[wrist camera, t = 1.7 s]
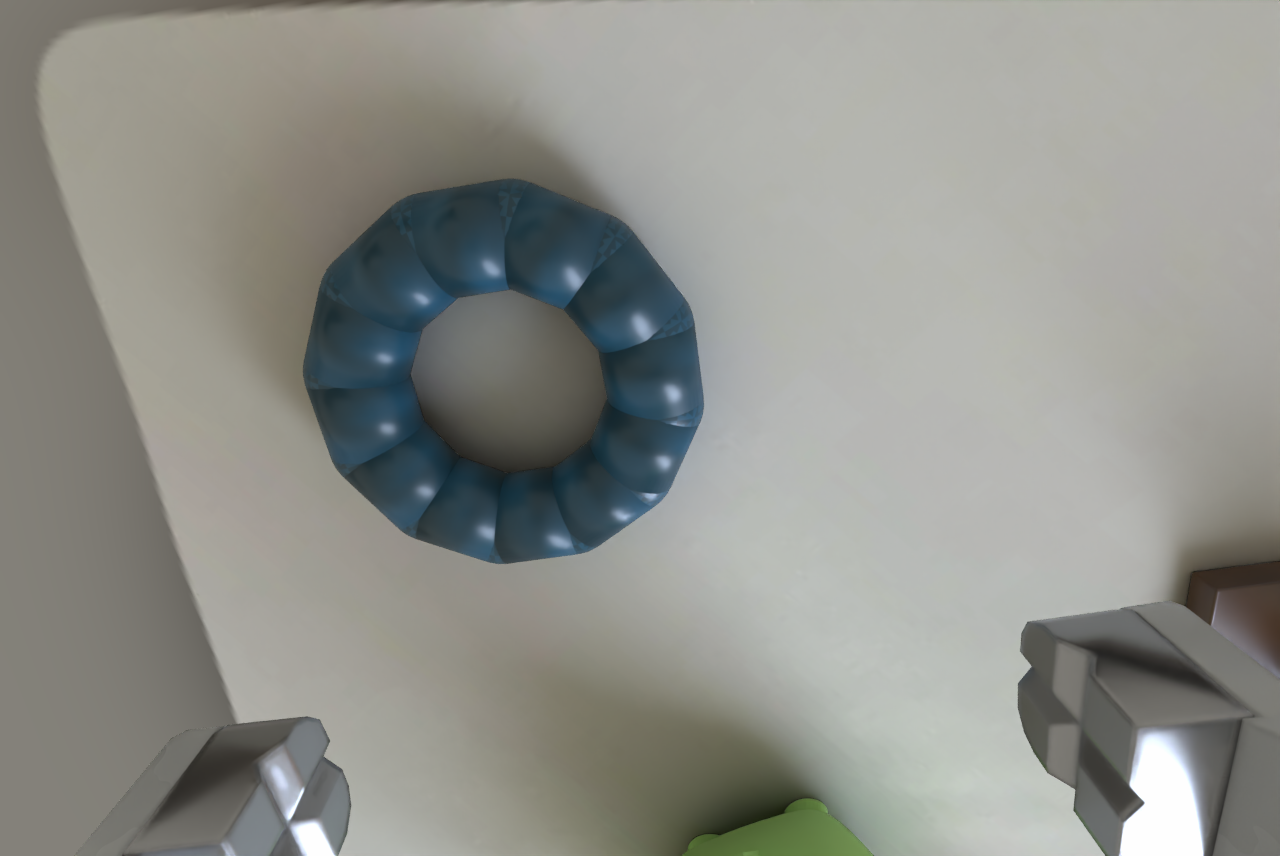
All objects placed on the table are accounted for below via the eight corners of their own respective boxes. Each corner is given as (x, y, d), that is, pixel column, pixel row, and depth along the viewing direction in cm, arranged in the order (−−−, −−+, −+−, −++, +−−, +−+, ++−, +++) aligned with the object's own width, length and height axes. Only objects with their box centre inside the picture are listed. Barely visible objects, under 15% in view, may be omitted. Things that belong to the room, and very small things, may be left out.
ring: (281, 216, 20) (223, 224, 17) (670, 152, 20) (675, 150, 17) (393, 551, 25) (362, 600, 22) (714, 507, 24) (725, 552, 21)
